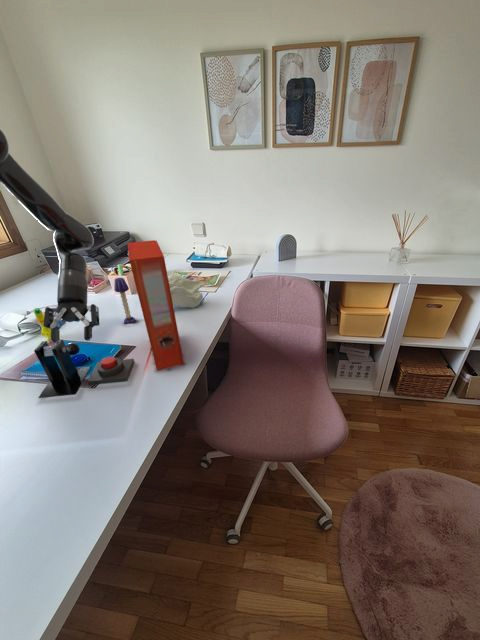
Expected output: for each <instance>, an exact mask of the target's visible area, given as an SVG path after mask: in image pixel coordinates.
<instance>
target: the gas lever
mask: <svg viewBox="0 0 480 640" xmlns="http://www.w3.org/2000/svg"><path fill="white" fill-rule="evenodd" d="M65 345H66V348H67V350H68V352H69V354H70V356H76V355H78V354H79V353H80V350H81V348H80V346H79V345H78V343H76V342H70V343H67V344H65ZM53 347H54V345H49V346H48V347H43V348H44V356H54V354H53V352H52V350H51V349H52V348H53ZM54 357H55V356H54Z"/></svg>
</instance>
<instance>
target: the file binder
mask: <svg viewBox="0 0 480 640" xmlns="http://www.w3.org/2000/svg"><path fill="white" fill-rule="evenodd" d="M127 251H128V260H129V261H128V262H129V265H130V269H131V273H132V276H133V279H134V285H135V288H136V292H137V296H138V300H139V304H140V309H141V312H142V316H143V320H144V324H145V328H146V333H147V336H148V341H149V344H150V348H151V352H152V357H153V361H154V364H155V368H156V370H157V371H161V370H166V369H170V368H173V367H177V366H183V365H184V364H185V363H184V356H183V351H182V346H181V340H180V335H179V329H178V325H177V319H176V314H175V308H174V305H173V302H172V297H171V292H170V286H169V281H168V278H169V275H168V271H167V264H166V261H165V260H166V259H165V255H164V254H163V252H162V249H161V247H160V245H159V243H158V240H154V239H153V240H143V241H132V242H127Z"/></svg>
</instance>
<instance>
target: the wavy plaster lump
mask: <svg viewBox="0 0 480 640" xmlns="http://www.w3.org/2000/svg"><path fill="white" fill-rule="evenodd" d="M168 281H169V286H170V292H171V297H172V302H173V306H177V307H180V308H191V309H194V308H197V307H198V306H200V304H201V302H202V300H203V292H201V291H199V290H200V289H201V288H203V287H204V286H205V284H206V283H205V282H204V281H201V280H198V279H197V278H194V279H192V280H191V279H188V278H186V277H184V276H179V275H171V276H169V277H168Z"/></svg>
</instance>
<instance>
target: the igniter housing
mask: <svg viewBox="0 0 480 640" xmlns="http://www.w3.org/2000/svg"><path fill="white" fill-rule="evenodd" d="M114 358H115V360H116V363H117V365H116V366H115V367H113V368H110V369H104V368H103V367H102V364H101V361H97V362H96V365H95V366H94V368H93V370H92V372H91V373H90V375H89V377H88V379H87V381H86V383H87V384H88V386H92V385H103V384H112V383H113V384H114V383H124V382H128V380H129V378H130V375H131V372H132V369H133V368H134V365H135V359H134V358H128V359H127V358H125V359H121V357H120V358H119V357H114Z"/></svg>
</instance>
